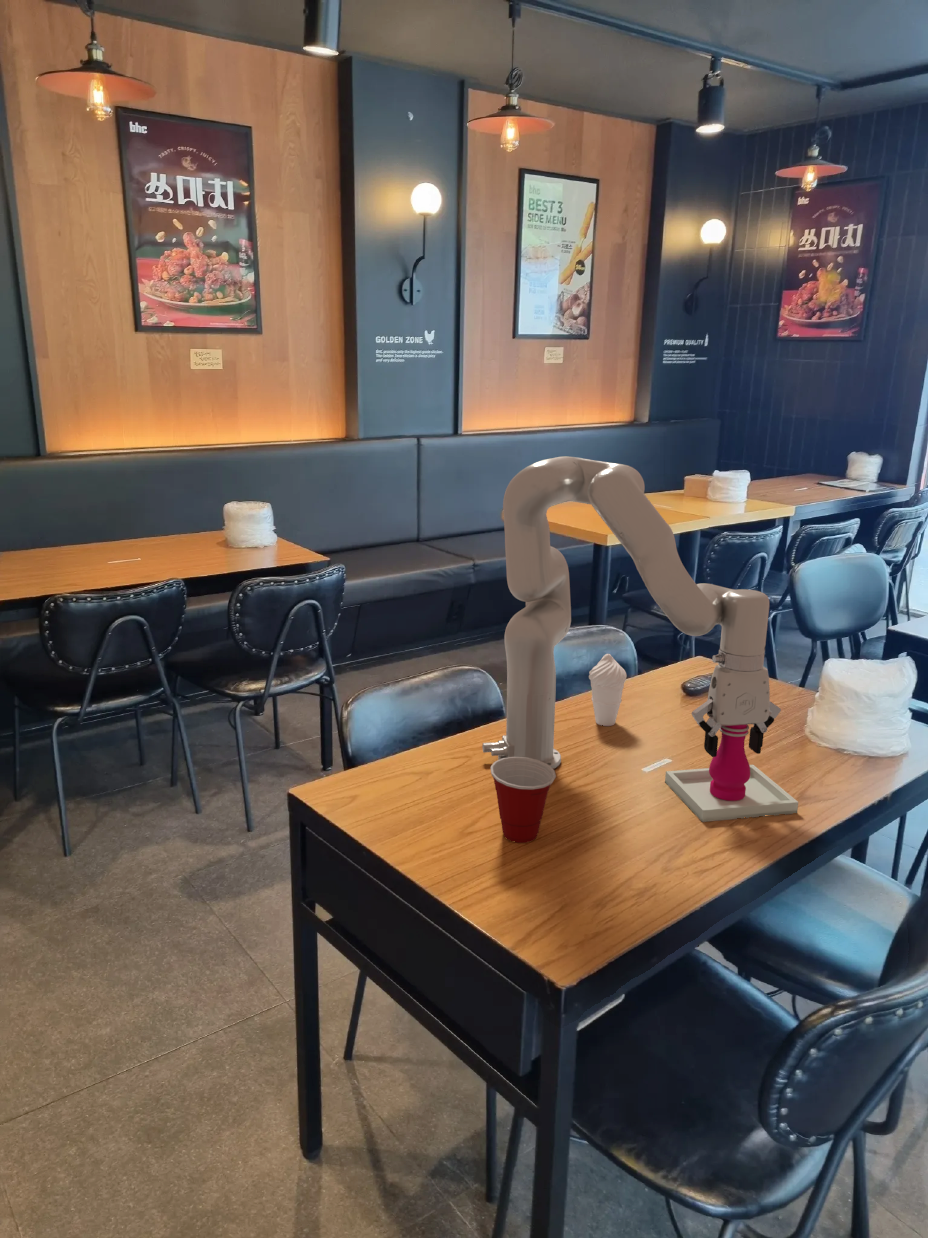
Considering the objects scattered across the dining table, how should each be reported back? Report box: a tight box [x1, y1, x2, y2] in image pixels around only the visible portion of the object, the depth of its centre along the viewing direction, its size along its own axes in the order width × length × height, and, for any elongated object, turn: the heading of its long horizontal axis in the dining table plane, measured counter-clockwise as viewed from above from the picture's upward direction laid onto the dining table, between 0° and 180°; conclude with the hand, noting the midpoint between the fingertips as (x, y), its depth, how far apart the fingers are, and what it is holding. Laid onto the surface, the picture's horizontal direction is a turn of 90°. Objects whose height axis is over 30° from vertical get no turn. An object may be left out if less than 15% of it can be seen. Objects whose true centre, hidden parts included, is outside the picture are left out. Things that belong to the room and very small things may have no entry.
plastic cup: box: [490, 757, 557, 844], centre depth 145 cm, size 11×11×12 cm
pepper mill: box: [708, 724, 750, 801], centre depth 158 cm, size 7×7×20 cm
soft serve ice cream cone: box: [588, 653, 627, 727], centre depth 194 cm, size 8×8×16 cm
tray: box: [664, 764, 799, 823], centre depth 160 cm, size 18×16×2 cm
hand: (732, 752), depth 158 cm, fingers open, 8 cm apart
